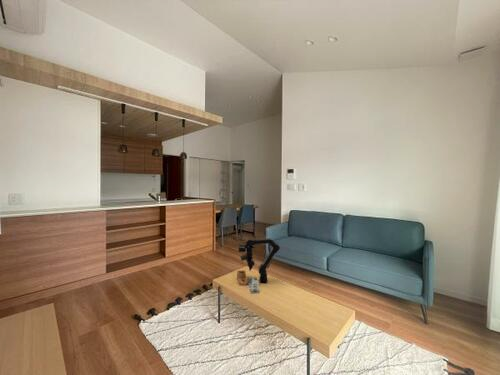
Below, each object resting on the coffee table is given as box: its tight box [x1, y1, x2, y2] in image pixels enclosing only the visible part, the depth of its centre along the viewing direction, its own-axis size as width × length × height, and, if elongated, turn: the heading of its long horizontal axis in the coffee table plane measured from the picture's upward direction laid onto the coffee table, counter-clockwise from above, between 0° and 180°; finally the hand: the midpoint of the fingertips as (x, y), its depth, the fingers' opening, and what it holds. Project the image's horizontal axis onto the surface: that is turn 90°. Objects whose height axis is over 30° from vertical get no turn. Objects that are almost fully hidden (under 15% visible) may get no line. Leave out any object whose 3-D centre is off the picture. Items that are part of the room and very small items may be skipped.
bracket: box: [236, 269, 249, 287], centre depth 197 cm, size 18×8×7 cm, turn 15°
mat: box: [249, 287, 261, 295], centre depth 179 cm, size 8×8×1 cm
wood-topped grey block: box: [250, 279, 259, 292], centre depth 179 cm, size 6×3×9 cm, turn 97°
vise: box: [247, 276, 258, 289], centre depth 190 cm, size 8×10×5 cm
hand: (249, 268), depth 197 cm, fingers open, 9 cm apart
